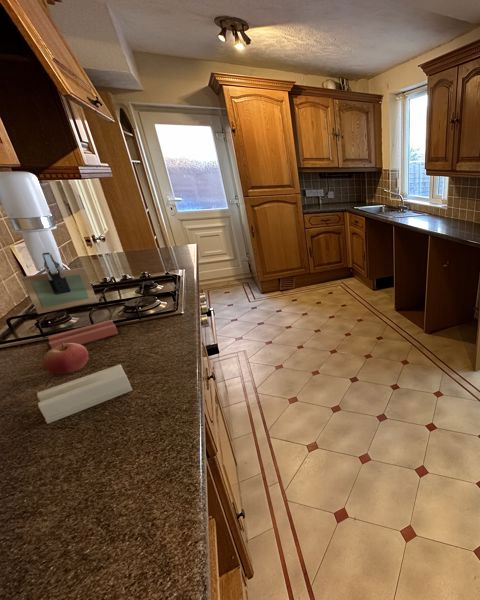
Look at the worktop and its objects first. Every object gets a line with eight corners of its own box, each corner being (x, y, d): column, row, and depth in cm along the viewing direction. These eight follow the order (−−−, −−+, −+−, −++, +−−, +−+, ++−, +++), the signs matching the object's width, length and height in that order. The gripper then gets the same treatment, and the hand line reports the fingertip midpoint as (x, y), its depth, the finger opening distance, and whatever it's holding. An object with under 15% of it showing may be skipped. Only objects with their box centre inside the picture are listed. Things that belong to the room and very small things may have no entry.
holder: (45, 406, 70) (36, 391, 68) (125, 376, 80) (119, 362, 78) (47, 424, 65) (38, 408, 64) (132, 390, 75) (126, 376, 73)
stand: (53, 347, 93) (47, 335, 91) (115, 330, 102) (110, 318, 101) (55, 357, 88) (49, 345, 86) (120, 338, 97) (115, 326, 96)
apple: (100, 359, 87) (89, 333, 84) (82, 376, 80) (69, 349, 77) (64, 364, 85) (51, 337, 82) (42, 382, 78) (27, 354, 75)
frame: (37, 312, 86) (21, 277, 82) (96, 299, 95) (83, 267, 91) (38, 314, 85) (21, 278, 81) (97, 301, 94) (84, 268, 90)
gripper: (11, 222, 83) (41, 288, 90) (11, 229, 74) (44, 303, 81) (52, 219, 89) (77, 282, 96) (57, 225, 79) (84, 295, 86)
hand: (62, 291), depth 88 cm, fingers closed on frame, 1 cm apart
